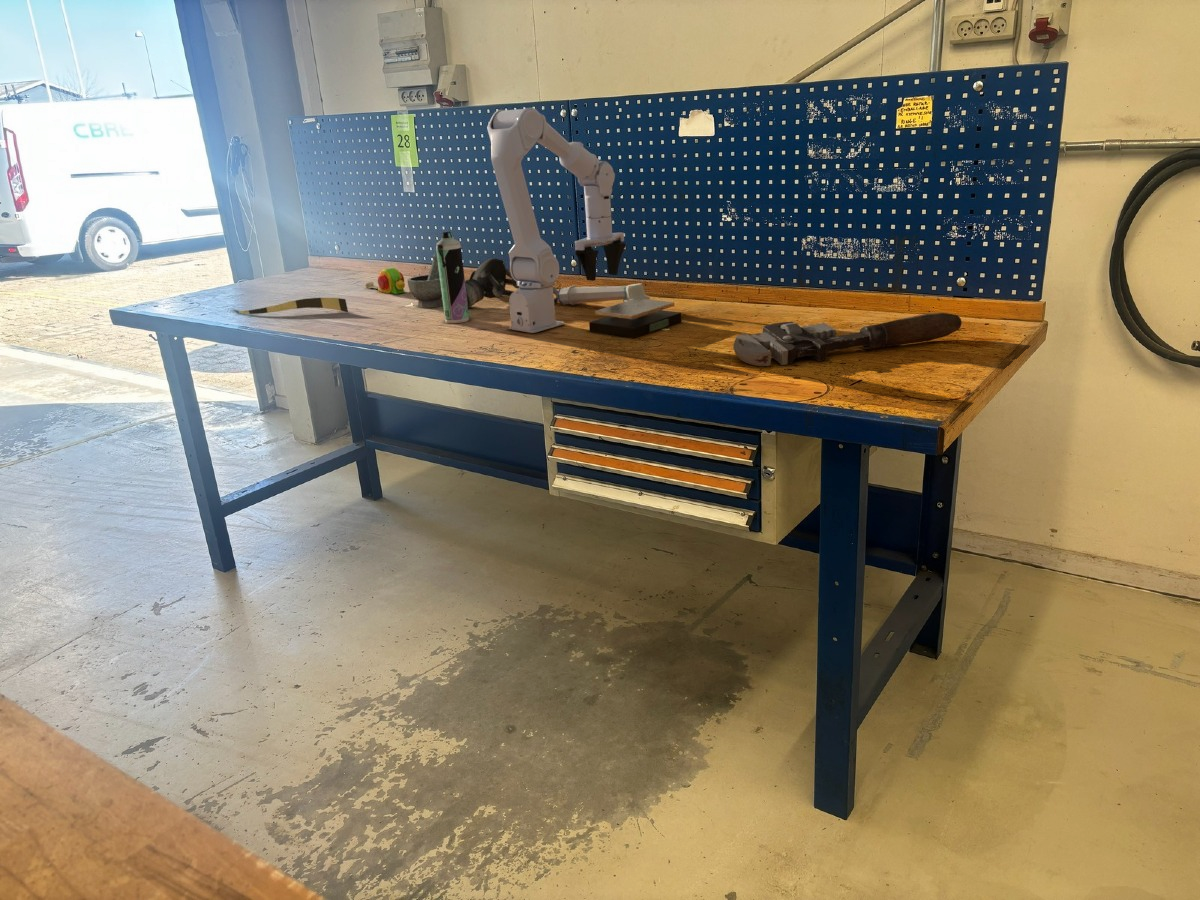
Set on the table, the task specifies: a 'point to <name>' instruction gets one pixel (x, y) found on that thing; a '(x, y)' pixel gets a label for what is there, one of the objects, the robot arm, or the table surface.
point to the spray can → (452, 279)
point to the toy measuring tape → (389, 281)
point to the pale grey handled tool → (600, 294)
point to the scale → (635, 324)
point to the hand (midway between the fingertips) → (602, 277)
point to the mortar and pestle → (427, 287)
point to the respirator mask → (490, 282)
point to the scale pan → (634, 308)
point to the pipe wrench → (837, 338)
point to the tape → (303, 305)
